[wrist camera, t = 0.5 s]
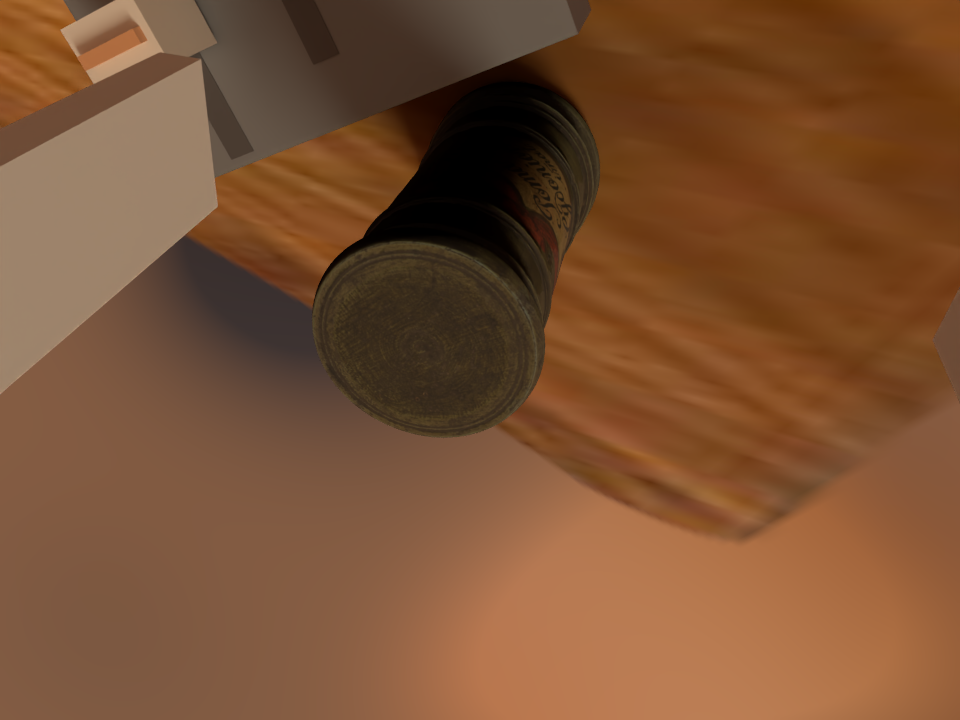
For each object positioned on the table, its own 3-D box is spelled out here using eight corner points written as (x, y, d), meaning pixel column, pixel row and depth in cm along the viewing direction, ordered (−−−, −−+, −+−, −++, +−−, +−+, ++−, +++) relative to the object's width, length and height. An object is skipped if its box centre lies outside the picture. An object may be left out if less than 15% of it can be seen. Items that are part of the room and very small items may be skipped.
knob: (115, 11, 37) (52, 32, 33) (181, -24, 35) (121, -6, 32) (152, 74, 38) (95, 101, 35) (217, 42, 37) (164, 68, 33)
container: (535, 273, 46) (460, 487, 31) (405, 179, 44) (261, 357, 30) (638, 152, 41) (605, 340, 26) (494, 41, 39) (375, 175, 25)
